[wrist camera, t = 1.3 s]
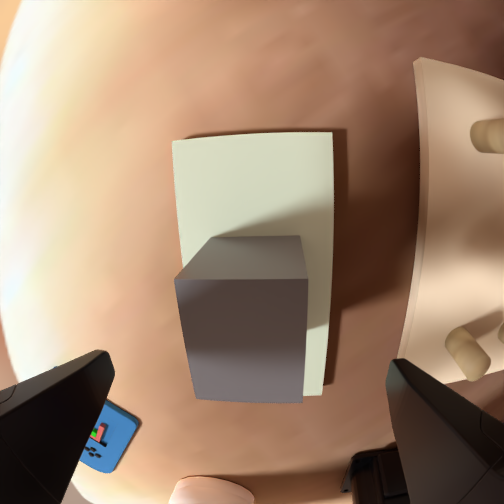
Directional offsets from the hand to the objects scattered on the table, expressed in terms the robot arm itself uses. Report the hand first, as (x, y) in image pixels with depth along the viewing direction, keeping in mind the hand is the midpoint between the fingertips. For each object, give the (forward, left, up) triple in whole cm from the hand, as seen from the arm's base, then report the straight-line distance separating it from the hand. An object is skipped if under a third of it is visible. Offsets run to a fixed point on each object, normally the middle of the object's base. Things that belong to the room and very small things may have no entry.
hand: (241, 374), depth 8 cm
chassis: (+2, -13, -7) cm, 15 cm away
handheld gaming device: (-16, +17, -8) cm, 25 cm away
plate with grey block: (0, 0, -7) cm, 7 cm away
